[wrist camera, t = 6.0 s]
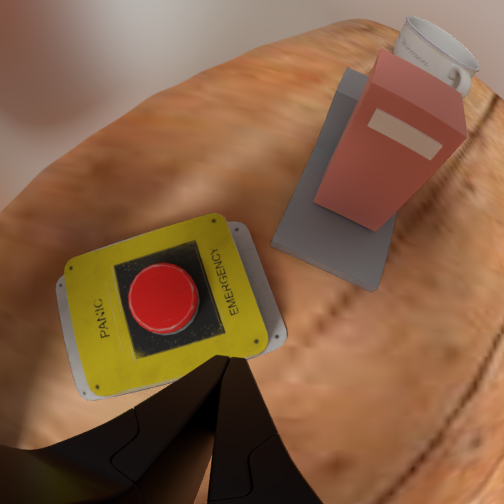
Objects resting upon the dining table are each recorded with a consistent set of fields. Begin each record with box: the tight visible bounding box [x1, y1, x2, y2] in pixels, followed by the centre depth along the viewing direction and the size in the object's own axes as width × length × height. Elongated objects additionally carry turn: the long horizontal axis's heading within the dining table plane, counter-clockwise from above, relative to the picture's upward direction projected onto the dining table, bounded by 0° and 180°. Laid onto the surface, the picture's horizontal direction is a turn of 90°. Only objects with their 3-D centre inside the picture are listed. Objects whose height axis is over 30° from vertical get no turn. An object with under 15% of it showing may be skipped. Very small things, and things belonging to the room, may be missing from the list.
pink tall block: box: [313, 48, 467, 232], centre depth 16 cm, size 4×5×11 cm
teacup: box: [393, 16, 480, 99], centre depth 26 cm, size 14×11×8 cm
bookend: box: [270, 67, 398, 292], centre depth 20 cm, size 13×8×7 cm, turn 156°
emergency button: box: [56, 213, 287, 401], centre depth 17 cm, size 9×4×15 cm
